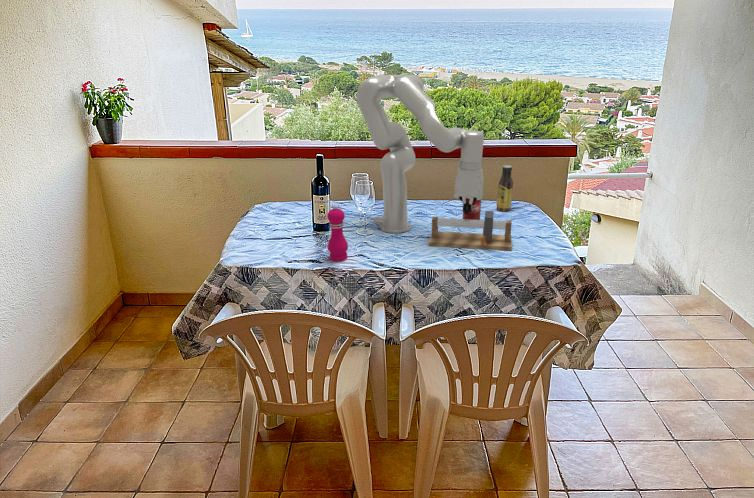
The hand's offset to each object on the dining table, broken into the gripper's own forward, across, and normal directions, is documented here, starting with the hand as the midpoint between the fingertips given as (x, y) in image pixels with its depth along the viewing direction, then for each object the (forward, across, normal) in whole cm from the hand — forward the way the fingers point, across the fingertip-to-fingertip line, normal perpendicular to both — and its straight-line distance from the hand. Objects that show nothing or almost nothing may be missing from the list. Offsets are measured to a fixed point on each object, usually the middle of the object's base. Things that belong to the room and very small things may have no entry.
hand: (466, 213), depth 195 cm
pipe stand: (+10, +2, -3) cm, 11 cm away
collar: (+7, +9, -3) cm, 11 cm away
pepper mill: (+12, -43, -26) cm, 52 cm away
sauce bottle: (+10, +14, +39) cm, 43 cm away
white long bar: (+4, +2, -3) cm, 6 cm away
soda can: (+11, +1, +18) cm, 21 cm away
